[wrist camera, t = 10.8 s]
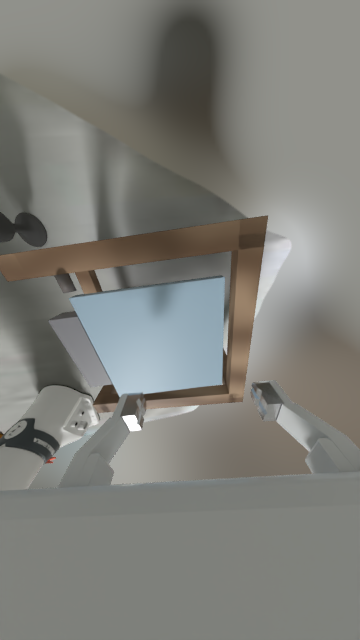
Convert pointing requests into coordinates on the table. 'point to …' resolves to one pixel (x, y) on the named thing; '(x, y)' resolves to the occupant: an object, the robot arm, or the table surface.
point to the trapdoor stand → (158, 246)
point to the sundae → (23, 229)
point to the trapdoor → (148, 336)
